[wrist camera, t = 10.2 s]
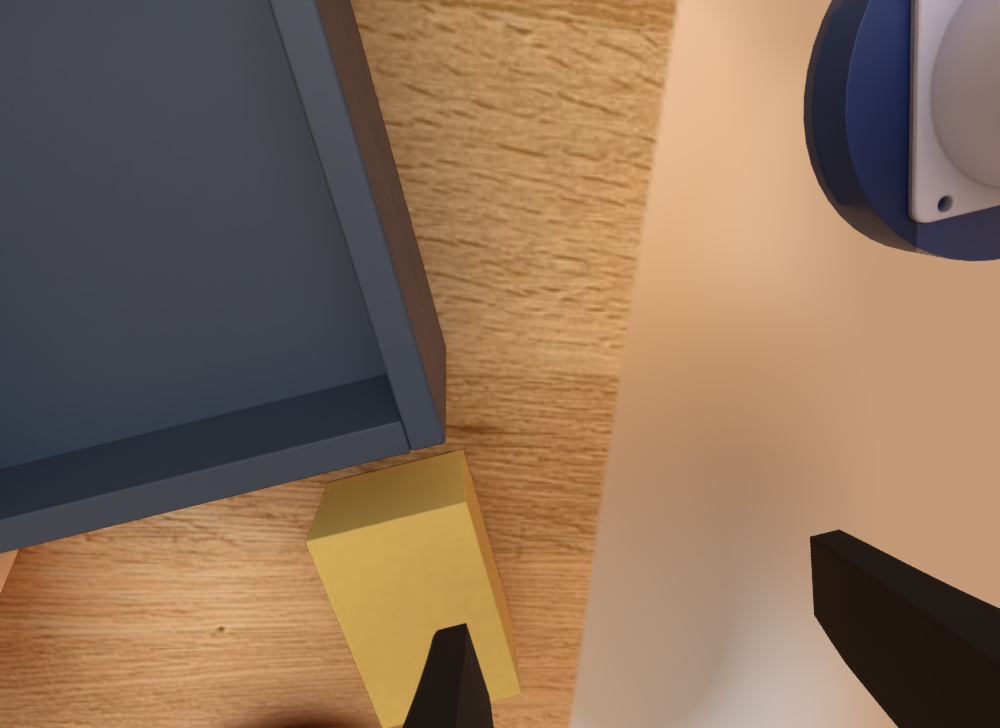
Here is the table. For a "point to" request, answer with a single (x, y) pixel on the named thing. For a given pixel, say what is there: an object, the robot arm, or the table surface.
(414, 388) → the bin
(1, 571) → the mug
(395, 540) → the notepads
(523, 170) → the table surface
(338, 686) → the table surface
